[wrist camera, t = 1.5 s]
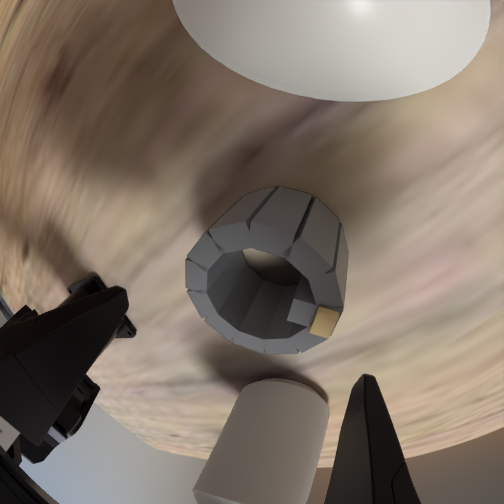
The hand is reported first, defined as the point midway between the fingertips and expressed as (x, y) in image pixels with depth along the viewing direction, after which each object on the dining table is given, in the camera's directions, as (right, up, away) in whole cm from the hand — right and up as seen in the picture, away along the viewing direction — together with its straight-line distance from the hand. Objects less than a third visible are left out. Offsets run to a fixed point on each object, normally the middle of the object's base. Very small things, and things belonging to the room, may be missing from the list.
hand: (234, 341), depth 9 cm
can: (+4, -9, +12) cm, 15 cm away
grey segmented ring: (+2, +3, +5) cm, 6 cm away
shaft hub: (+4, +15, -3) cm, 16 cm away
